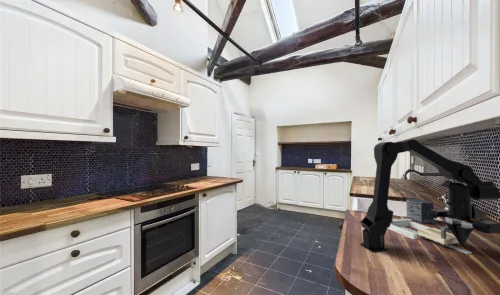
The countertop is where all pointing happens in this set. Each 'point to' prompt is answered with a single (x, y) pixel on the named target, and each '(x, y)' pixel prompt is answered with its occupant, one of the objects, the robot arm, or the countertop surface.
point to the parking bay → (400, 228)
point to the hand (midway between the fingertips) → (462, 244)
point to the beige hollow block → (438, 235)
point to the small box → (419, 210)
